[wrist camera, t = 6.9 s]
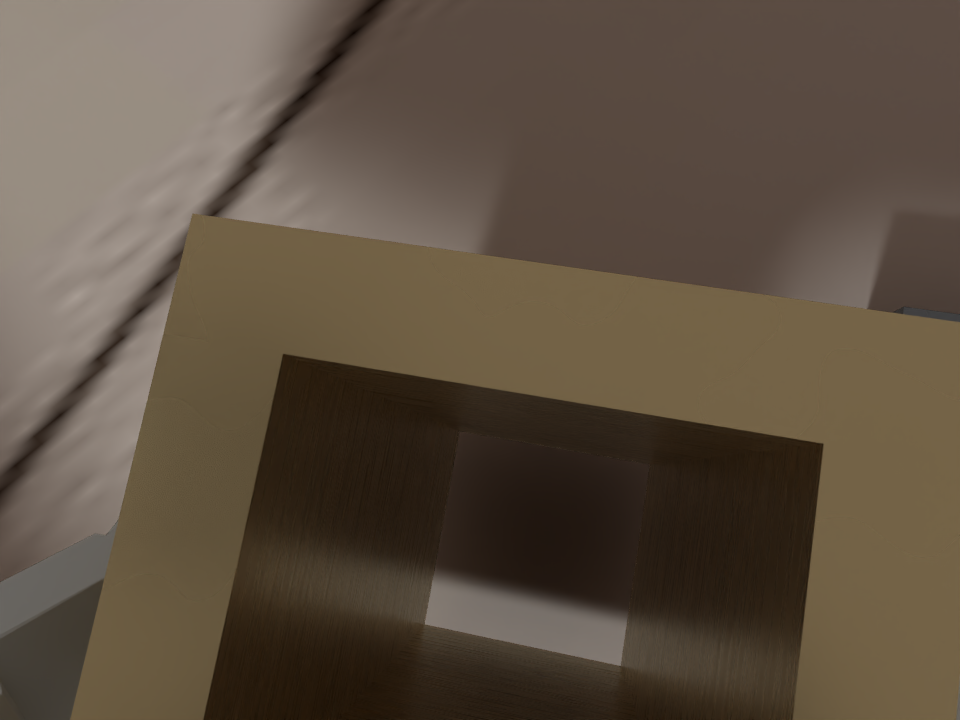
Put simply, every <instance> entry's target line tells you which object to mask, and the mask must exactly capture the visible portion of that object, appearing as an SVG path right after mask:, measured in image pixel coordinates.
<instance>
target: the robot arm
mask: <svg viewBox="0 0 960 720" xmlns="http://www.w3.org/2000/svg"><path fill="white" fill-rule="evenodd" d="M117 524H118V521H117V522H116V523H115V525H114V526H113V527H112V528H111V530H110V531H109V532H108V534H107V535H101V534H93V535H91V536H89V537H87V538H85V539H83V540H81V541H79V542H77V543H75V544H73V545H71V546H70V547H68V548H66V549H64V550H62V551H60V552H58V553H56V554H54V555H52V556H50V557H48V558H46V559H44V560H42V561H40V562H38V563H36V564H34V565H33V566H31V567H29V568H27V569H25V570H23V571H21V572H19V573H17V574H15V575H13V576H11V577H9V578H7V579H5V580H3V581H1V582H0V720H70V718H71V714H72V710H73V706H74V702H75V698H76V694H77V690H78V685H79V681H80V677H81V673H82V669H83V665H84V661H85V656H86V652H87V648H88V644H89V640H90V636H91V632H92V627H93V623H94V619H95V615H96V611H97V607H98V603H99V599H100V594H101V590H102V586H103V582H104V578H105V574H106V570H107V565H108V561H109V557H110V553H111V549H112V545H113V541H114V536H115V532H116V528H117ZM956 720H960V681H959V693H958V705H957V717H956Z"/></svg>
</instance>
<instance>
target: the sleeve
mask: <svg viewBox="0 0 960 720" xmlns="http://www.w3.org/2000/svg"><path fill="white" fill-rule="evenodd" d="M460 431H461V432H467V433H473V434H478V435H484V436H490V437H496V438H501V439H507V440H513V441H518V442H524V443H530V444H535V445H541V446H547V447H553V448H558V449H564V450H570V451H575V452H581V453H587V454H593V455H598V456H604V457H610V458H615V459H621V460H627V461H632V462H638V463H644V464H650V468H649V475H648V481H647V488H646V495H645V502H644V509H643V516H642V523H641V530H640V537H639V544H638V551H637V557H636V564H635V571H634V578H633V585H632V592H631V599H630V606H629V613H628V620H627V626H626V633H625V640H624V647H623V654H622V661H621V666H618V665H613V664H608V663H604V662H599V661H594V660H589V659H585V658H580V657H575V656H571V655H566V654H561V653H557V652H552V651H547V650H543V649H538V648H533V647H528V646H524V645H519V644H514V643H510V642H505V641H500V640H496V639H491V638H486V637H481V636H477V635H472V634H467V633H463V632H458V631H453V630H449V629H444V628H439V627H435V626H430V625H425V619H426V613H427V608H428V602H429V597H430V591H431V586H432V580H433V575H434V569H435V564H436V558H437V553H438V547H439V542H440V536H441V531H442V525H443V520H444V514H445V509H446V503H447V498H448V492H449V487H450V481H451V476H452V470H453V465H454V459H455V454H456V448H457V443H458V437H459V432H460ZM959 681H960V322H954V321H947V320H940V319H933V318H926V317H919V316H912V315H905V314H898V313H891V312H884V311H877V310H870V309H863V308H856V307H848V306H841V305H834V304H827V303H820V302H813V301H806V300H799V299H792V298H785V297H778V296H771V295H764V294H757V293H750V292H742V291H735V290H728V289H721V288H714V287H707V286H700V285H693V284H686V283H679V282H672V281H665V280H658V279H651V278H644V277H636V276H629V275H622V274H615V273H608V272H601V271H594V270H587V269H580V268H573V267H566V266H559V265H552V264H545V263H538V262H530V261H523V260H516V259H509V258H502V257H495V256H488V255H481V254H474V253H467V252H460V251H453V250H446V249H439V248H432V247H424V246H417V245H410V244H403V243H396V242H389V241H382V240H375V239H368V238H361V237H354V236H347V235H340V234H333V233H326V232H318V231H311V230H304V229H297V228H290V227H283V226H276V225H269V224H262V223H255V222H248V221H241V220H234V219H227V218H220V217H212V216H205V215H198V214H192V218H191V222H190V226H189V230H188V235H187V239H186V243H185V247H184V251H183V255H182V259H181V264H180V268H179V272H178V276H177V280H176V284H175V288H174V292H173V297H172V301H171V305H170V309H169V313H168V317H167V321H166V326H165V330H164V334H163V338H162V342H161V346H160V350H159V355H158V359H157V363H156V367H155V371H154V375H153V379H152V383H151V388H150V392H149V396H148V400H147V404H146V408H145V412H144V417H143V421H142V425H141V429H140V433H139V437H138V441H137V446H136V450H135V454H134V458H133V462H132V466H131V470H130V474H129V479H128V483H127V487H126V491H125V495H124V499H123V503H122V508H121V512H120V516H119V520H118V524H117V528H116V532H115V536H114V541H113V545H112V549H111V553H110V557H109V561H108V565H107V570H106V574H105V578H104V582H103V586H102V590H101V594H100V599H99V603H98V607H97V611H96V615H95V619H94V623H93V627H92V632H91V636H90V640H89V644H88V648H87V652H86V656H85V661H84V665H83V669H82V673H81V677H80V681H79V685H78V690H77V694H76V698H75V702H74V706H73V710H72V714H71V718H70V720H956V717H957V705H958V693H959Z"/></svg>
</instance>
